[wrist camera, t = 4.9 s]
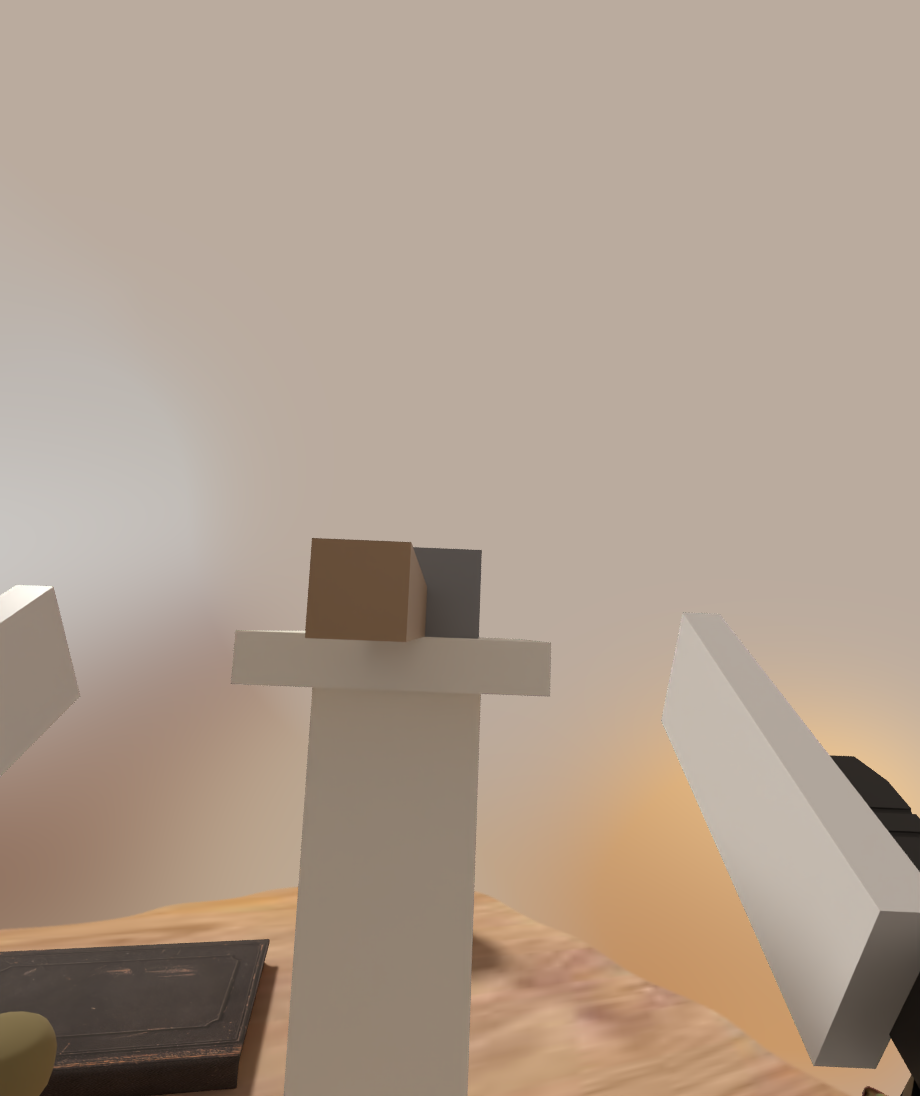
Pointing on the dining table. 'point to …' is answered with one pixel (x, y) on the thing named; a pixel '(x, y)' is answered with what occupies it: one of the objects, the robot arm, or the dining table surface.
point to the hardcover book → (139, 1013)
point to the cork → (25, 1053)
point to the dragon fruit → (872, 1092)
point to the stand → (387, 851)
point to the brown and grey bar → (391, 591)
